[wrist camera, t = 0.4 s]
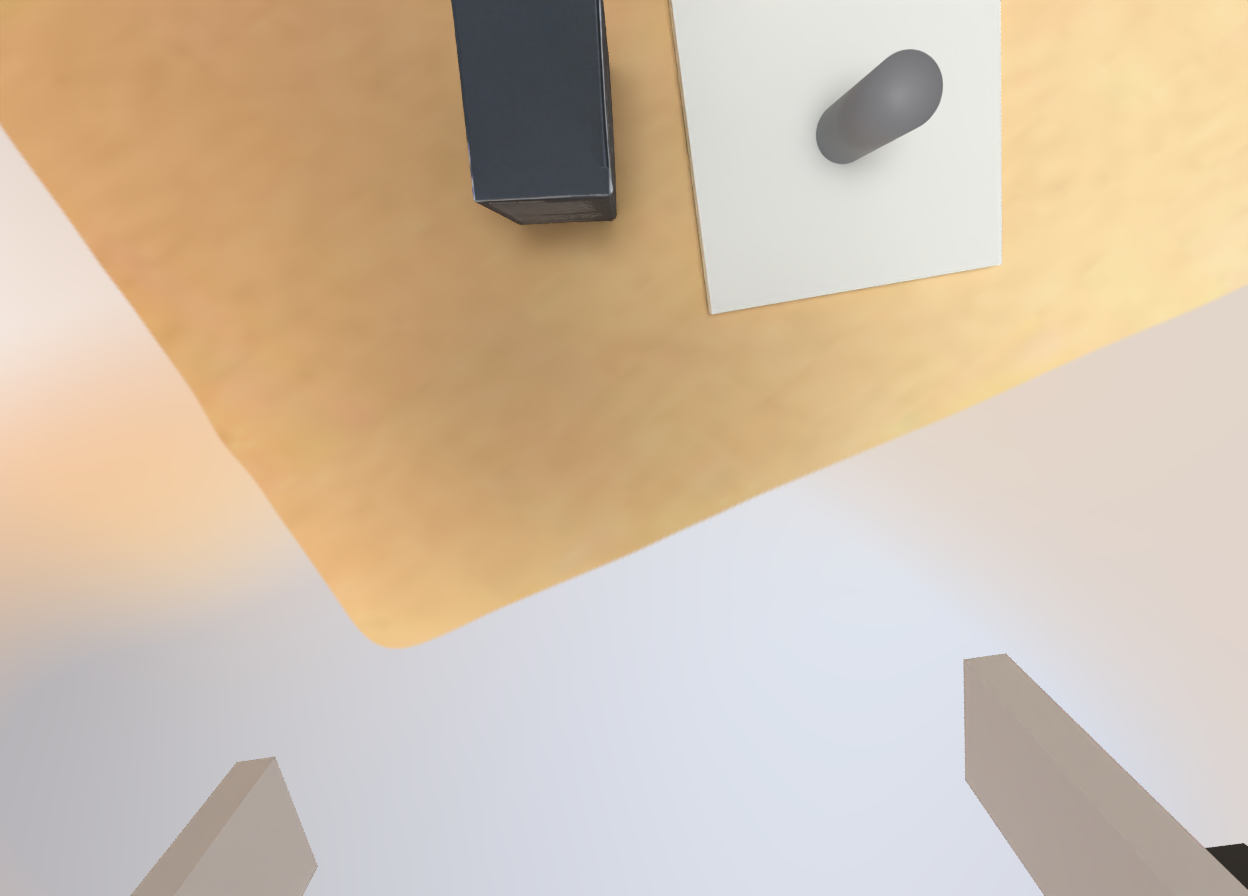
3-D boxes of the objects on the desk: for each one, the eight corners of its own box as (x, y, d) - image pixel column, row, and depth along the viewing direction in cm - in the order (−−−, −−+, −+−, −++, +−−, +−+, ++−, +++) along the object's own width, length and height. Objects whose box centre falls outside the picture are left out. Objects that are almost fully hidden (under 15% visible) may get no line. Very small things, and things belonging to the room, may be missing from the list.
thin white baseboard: (667, -4, 31) (683, -104, 23) (985, -66, 30) (1115, -191, 22) (708, 313, 35) (734, 322, 27) (988, 265, 34) (1098, 259, 26)
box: (502, 69, 32) (444, -33, 21) (610, 63, 32) (604, -42, 21) (516, 227, 34) (470, 204, 24) (617, 222, 34) (615, 196, 23)
